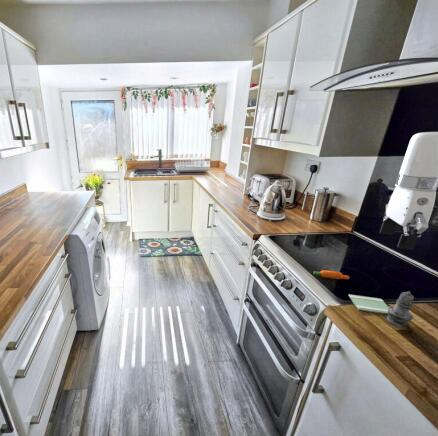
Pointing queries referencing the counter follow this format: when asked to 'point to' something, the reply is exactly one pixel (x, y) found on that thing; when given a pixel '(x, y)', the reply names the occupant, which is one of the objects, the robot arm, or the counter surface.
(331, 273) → the carrot
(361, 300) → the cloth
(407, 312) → the grey chess piece
